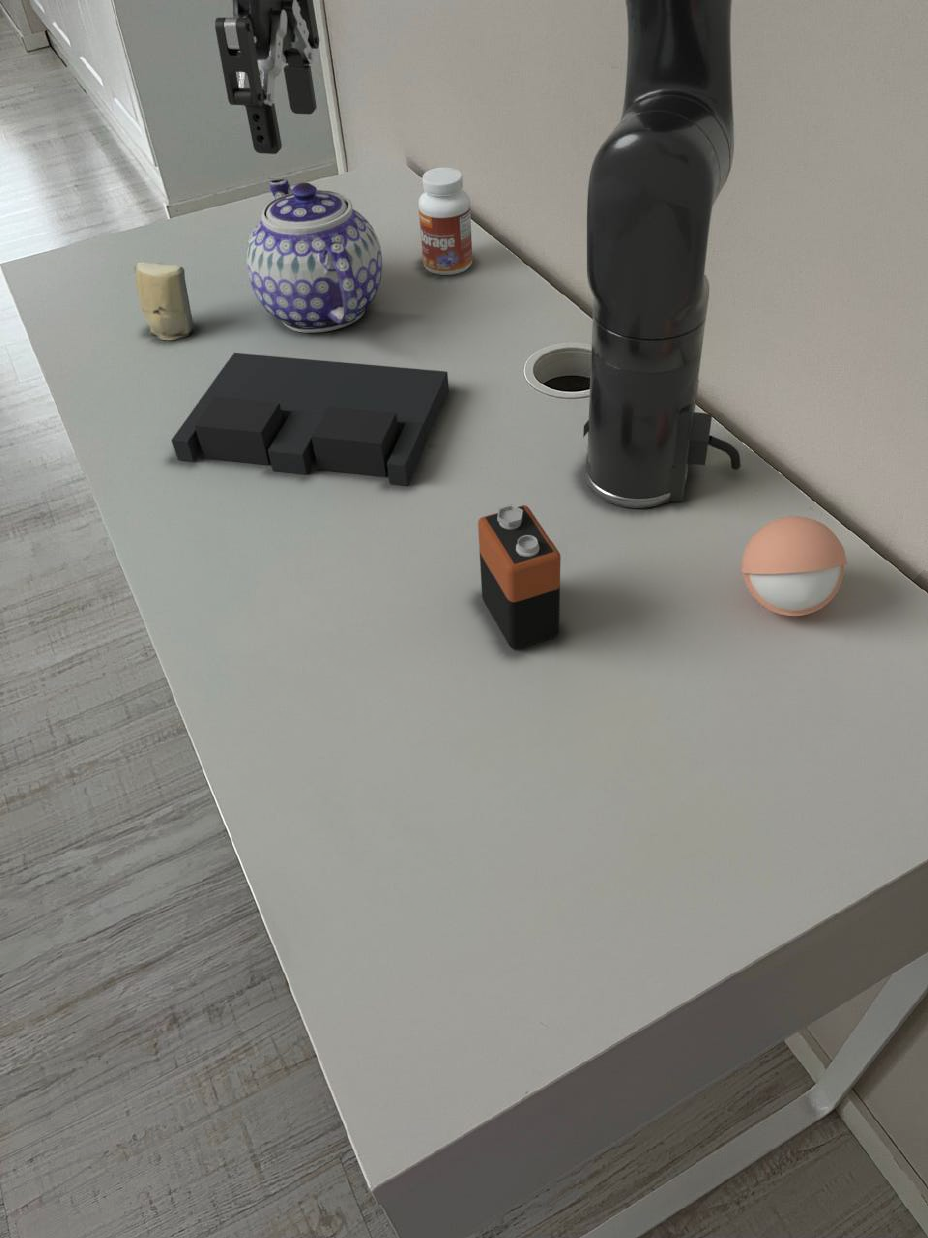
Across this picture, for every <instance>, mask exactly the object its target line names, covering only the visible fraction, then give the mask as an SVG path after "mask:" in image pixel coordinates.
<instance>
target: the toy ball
mask: <svg viewBox="0 0 928 1238" xmlns="http://www.w3.org/2000/svg"><path fill="white" fill-rule="evenodd" d="M743 551H744V552H743V555H742V560H741V572H742V575H743V576H742V577H743V580H744V583H745V586H746V588H747V590H748V592H749V593H750V595H751V596H752V597H753V599H754V600H755V601H756V602H757V603H758V604H759V605H760V606H762V607H763V608H765V609H766V610H769V611H770V612H772V613H774V614H778V615H781V616H787V617H801V616H806V615H810V614H813V613H815V612H817V611H819V610H821V609H823V608H824V607H825V606H826V605H828V603H830V602H831V601H832V600H833V598H835V596H837V593H838V591H839V589H840V587H841V585H842V583H843V578H844V573H845V565H847V564H848V561H847V560H848V559H847V555H846V551H845V548H844V546H843V544H842V542H841V541H840V539H839V537H838V536H837V535H836V533H835V532H834V531H832V530H831V528H829V527H828V526H827V525H825V524H824V523H822V522H821V521H818V520H816V519H813V518H810V517H804V516H797V515H795V516H794V515H793V516H792V515H791V516H784V517H780V518H778V519H774V520H771V521H770V522H768V523H766V524H765V525H763V526H762V527H760V528H759V529H758V530H757V531H756V532H755V533H754V534H753V535H752V537H751V538H750V539H749V541H748V542H747V544H746V546H745V549H744V550H743Z"/></svg>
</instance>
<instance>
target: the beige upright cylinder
mask: <svg viewBox="0 0 928 1238" xmlns="http://www.w3.org/2000/svg"><path fill="white" fill-rule="evenodd" d="M133 272H134V274H135V279H136V290H137V296H138V301H139V305H140V308H141V311H142V313H143V317H144V319H145V322H146V324H147V325H148V327H149V334H150V335H152V336H156V337H157V338H158V339H159V340H162V341H174V340H177V339H180V338H187V337H190V336H191V335H192V334H193V333H194V331H195V326H194V324H195V323H194V320H193V315H192V310H191V305H190V298H189V293H188V287H187V283H186V277H185V276H186V275H185V274H186V273H185V268H184V267H183V266H181V265H171V264H163V263H155V262H154V263H153V262H147V261H141V262H138V263H136V264H135V265H134V267H133Z"/></svg>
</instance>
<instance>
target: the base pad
mask: <svg viewBox="0 0 928 1238" xmlns="http://www.w3.org/2000/svg"><path fill="white" fill-rule="evenodd" d="M448 375H449V374H448V371H445V370H444V371H443V370H433V369H424V368H423V369H421V368H412V367H410V368H409V367H401V366H389V365H388V366H387V365H376V364H367V363H366V364H365V363H355V362H354V363H353V362H344V361H333V360H323V359H322V360H320V359H309V358H299V357H298V358H297V357H287V356H278V355H277V356H275V355H264V354H252V353H242V352H241V353H240V352H233V354H232V355H231V356H230V358H229V359H228V360H227V362H226V363H225V364H224V366H223V367H222V368H221V370H220V372H219V373H218V374H217V376H216V377H215V379H214V380H213V381H212V383H211V384H210V385H209V387H208V388H207V390H206V391H205V392H204V394H203V395H202V397H201V398H200V399H199V401H198V402H197V403H196V405H195V406H194V407H193V409H192V410H191V412H190V414H189V415H188V416H187V417H186V419H185V420H184V422H183V423H182V424H181V426H180V427H179V428H178V430H177V432H176V433H174V436H173V437H172V439H171V443H172V446H173V450H174V453H175V455H176V459H177V460H178V461H184V462H191V463H193V462H195V460H196V459H197V458H198V456H199V455H200V453H201V452H202V449H201V445H200V442H199V438H198V435H197V432H196V428H195V424H196V423H197V421H198V420H199V418H200V417H201V416H202V414H203V413H204V411H205V410H206V408H207V407H208V406H209V404H210V403H211V401H212V400H213V399H214V397H225V398H235V399H246V400H256V401H266V402H276V403H280V407H281V412H282V416H283V421H284V425H283V426H282V428H281V430H280V431H279V433H278V435H277V436H276V438H275V440H274V441H273V443H272V445H271V446H270V448H269V450H268V453H269V457H270V461H271V463H270V465H271V469H272V472H279V473H280V472H281V473H289V474H298V475H308V473H309V472H310V470H311V468H312V466H313V464H314V463H315V461H316V456H315V451H314V446H313V441H312V435H313V433H314V431H315V429H316V428H317V426H318V424H319V422H320V421H321V419H322V417H323V415H324V413H325V412H326V410H327V408H328V407H339V408H349V409H359V410H369V411H380V412H390V413H396V415H397V423H398V432H399V439H398V441H397V443H396V445H395V447H394V450H393V452H392V454H391V456H390V458H389V460H388V462H387V468H388V474H387V476H388V480H389V481H388V482H389V485H394V486H402V487H403V486H404V487H408V485H409V484H410V482H411V479H412V476H413V474H414V472H415V470H416V468H417V465H418V463H419V460H420V458H421V457H422V454H423V451H424V449H425V447H426V445H427V442H428V440H429V438H430V435H431V434H432V431H433V429H434V428H435V427H434V426H435V424H436V422H437V420H438V418H439V415H440V413H441V411H442V408H443V406H444V404H445V403H446V402H445V401H446V399H447V397H448V395H449V392H450V388H449V387H450V386H449V376H448Z"/></svg>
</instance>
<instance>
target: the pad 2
mask: <svg viewBox="0 0 928 1238" xmlns="http://www.w3.org/2000/svg"><path fill="white" fill-rule="evenodd" d="M398 439H399V432H398V423H397V415H396V413H390V412H380V411H369V410H359V409H349V408H339V407H328V408H327V410H326V412H325V413H324V415H323V417H322V419H321V421H320V422H319V424H318V426H317V428H316V429H315V431H314V433H313V435H312V441H313V446H314V451H315V456H316V459H315V461H316V465H317V466H316V467H317V470H318V471H319V470H320V471H328V472H335V473H336V472H337V473H346V474H354V475H355V474H356V475H363V476H374V477H381V478H382V477H383V478H387V476H388V468H387V462H388V460H389V458H390V456H391V454H392V452H393V450H394V447H395V445H396V443H397V441H398Z"/></svg>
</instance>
